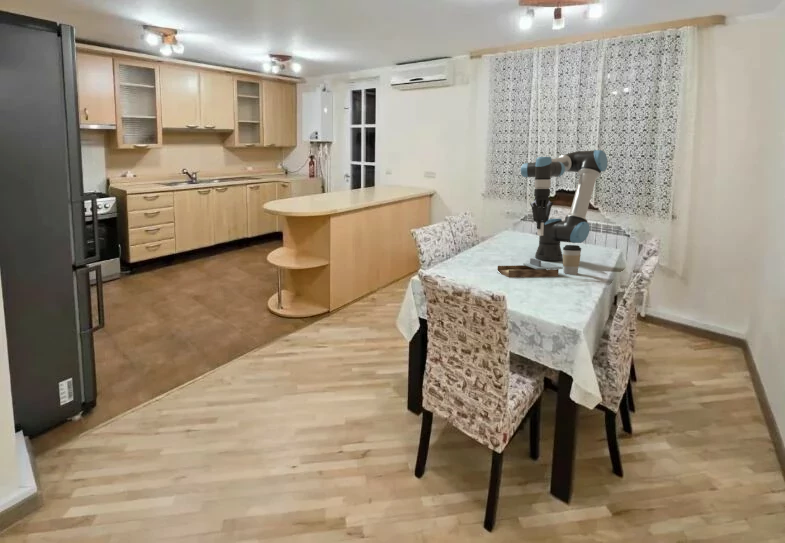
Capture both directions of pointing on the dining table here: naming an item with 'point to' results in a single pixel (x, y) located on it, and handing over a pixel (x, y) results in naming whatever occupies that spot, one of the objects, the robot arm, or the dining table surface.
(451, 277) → the dining table surface
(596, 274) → the dining table surface
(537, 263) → the lid
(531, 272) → the wooden tray
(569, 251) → the coffee cup
